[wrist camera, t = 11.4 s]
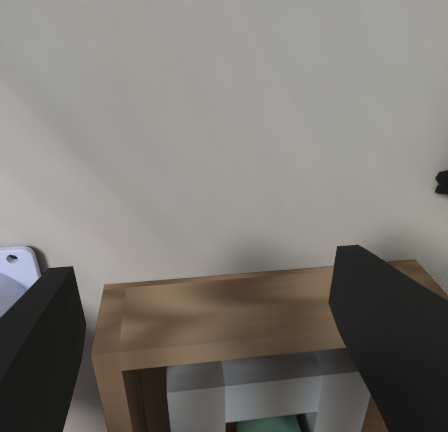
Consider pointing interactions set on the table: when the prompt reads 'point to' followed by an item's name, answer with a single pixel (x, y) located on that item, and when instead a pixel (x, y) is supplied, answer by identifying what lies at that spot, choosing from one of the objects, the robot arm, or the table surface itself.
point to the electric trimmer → (442, 182)
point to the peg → (269, 424)
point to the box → (230, 353)
